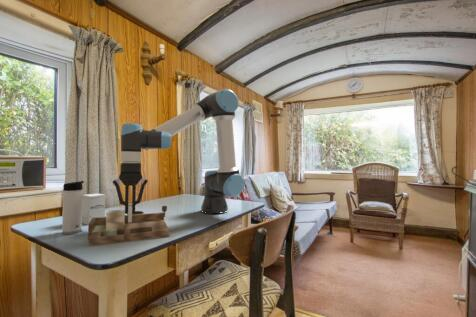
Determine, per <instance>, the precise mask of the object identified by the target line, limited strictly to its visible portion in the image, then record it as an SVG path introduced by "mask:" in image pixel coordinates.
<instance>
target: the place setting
mask: <svg viewBox="0 0 476 317" xmlns="http://www.w3.org/2000/svg"><path fill="white" fill-rule="evenodd" d="M167 211H168V205H162V206H161V212H162V213H163V212H164V218H166V212H167ZM136 214H145V213H144V211H142V210H135V213H132V215H136ZM126 215H128V214H126Z"/></svg>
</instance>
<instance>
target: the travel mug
mask: <svg viewBox="0 0 476 317" xmlns="http://www.w3.org/2000/svg"><path fill="white" fill-rule="evenodd" d="M84 183H85V182H84V180H81V181H75V182H67V183H64V184H63V187H62V190H63V193H62V227H61V229H62V231H61V233H62V234H63V235H66V236H67V235H68V236H69V235H76V234H79V233H81V232H83V231H82V230H83V227H82V226H83V223H82V195H83V193H84V192H83V190H84V189H83V184H84Z"/></svg>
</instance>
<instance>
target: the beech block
mask: <svg viewBox="0 0 476 317" xmlns="http://www.w3.org/2000/svg"><path fill="white" fill-rule="evenodd" d="M125 215H126V214H125V209H114V210H111V209H110V210H107V211H106V212H105V217H106V230H110V229H122V228H124V225H125Z"/></svg>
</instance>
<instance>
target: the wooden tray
mask: <svg viewBox="0 0 476 317" xmlns="http://www.w3.org/2000/svg"><path fill="white" fill-rule="evenodd" d="M87 226H88V227H87V229H88V230H87V231H88V232H87V239H88V246H89V247H92V246H99V245H109V244H116V243H119V244H120V243H126V242H134V241H135V242H136V241H143V240H153V239H159V238H169V237H170V229H169V227H168V224H167V223H166V221H165V217H164V212H163V211H162V212H152V213H151V212H150V213H144V214H136V215H132V222H129V223H128V215H127V214H125V225H124V228H122V229H110V230H106V216H105V217H96V218H92V219H91V221H90V223H89V224H88V225H87ZM152 238H153V239H152Z"/></svg>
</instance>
